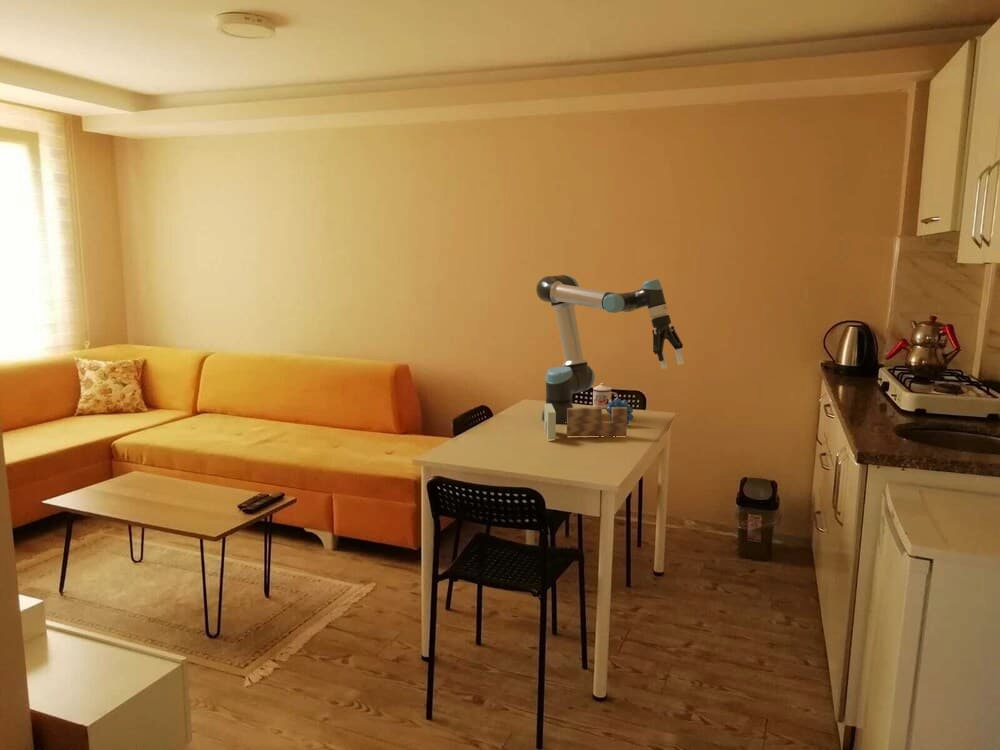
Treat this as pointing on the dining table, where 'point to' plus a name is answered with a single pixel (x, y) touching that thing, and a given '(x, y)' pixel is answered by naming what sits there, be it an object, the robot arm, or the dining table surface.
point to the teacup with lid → (602, 396)
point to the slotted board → (596, 422)
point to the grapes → (619, 403)
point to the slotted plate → (550, 421)
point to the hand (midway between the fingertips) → (673, 366)
